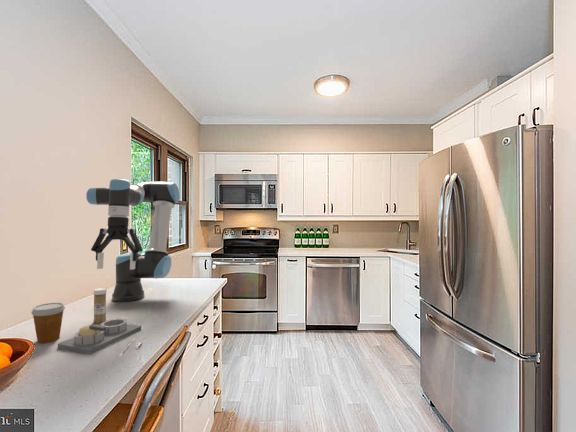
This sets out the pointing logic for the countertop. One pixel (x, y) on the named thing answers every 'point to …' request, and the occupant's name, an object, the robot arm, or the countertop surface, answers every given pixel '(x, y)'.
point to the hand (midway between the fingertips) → (116, 269)
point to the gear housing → (99, 336)
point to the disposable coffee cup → (48, 321)
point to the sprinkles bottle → (99, 305)
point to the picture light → (129, 345)
